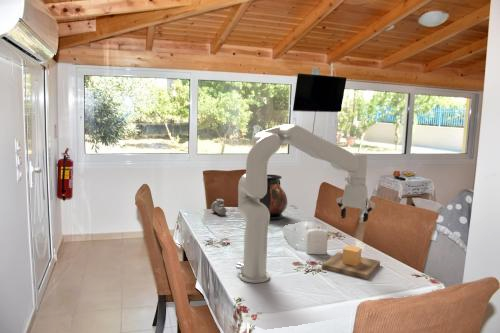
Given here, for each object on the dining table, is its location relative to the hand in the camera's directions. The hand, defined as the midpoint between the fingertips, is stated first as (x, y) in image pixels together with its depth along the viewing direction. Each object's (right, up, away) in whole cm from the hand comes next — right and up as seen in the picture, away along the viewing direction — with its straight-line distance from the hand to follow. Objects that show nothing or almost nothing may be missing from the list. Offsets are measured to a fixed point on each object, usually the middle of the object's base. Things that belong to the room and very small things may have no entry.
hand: (354, 219), depth 175 cm
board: (-1, -22, +3) cm, 22 cm away
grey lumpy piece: (-67, -9, +92) cm, 114 cm away
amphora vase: (-33, -11, +87) cm, 93 cm away
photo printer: (-14, -20, +19) cm, 31 cm away
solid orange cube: (0, -20, +2) cm, 20 cm away
